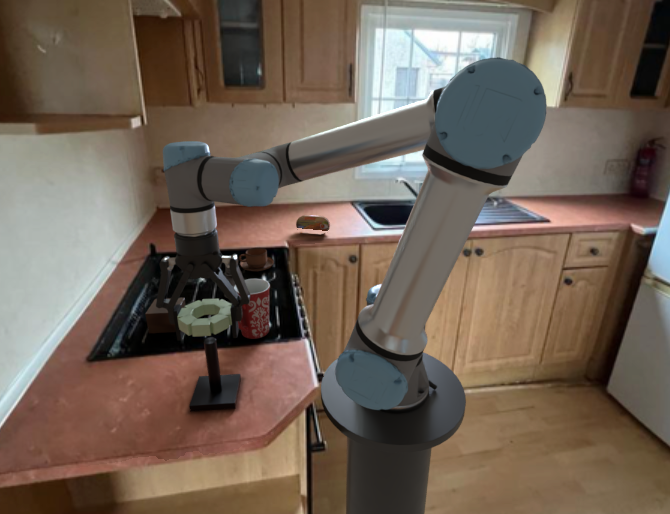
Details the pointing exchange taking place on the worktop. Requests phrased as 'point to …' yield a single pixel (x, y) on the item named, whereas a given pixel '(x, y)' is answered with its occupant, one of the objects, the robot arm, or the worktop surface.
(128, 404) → the worktop surface
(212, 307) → the ring disc
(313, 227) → the tin
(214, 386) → the stand
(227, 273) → the grey chess piece
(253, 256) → the cup and saucer
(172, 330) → the riser
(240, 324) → the mug
